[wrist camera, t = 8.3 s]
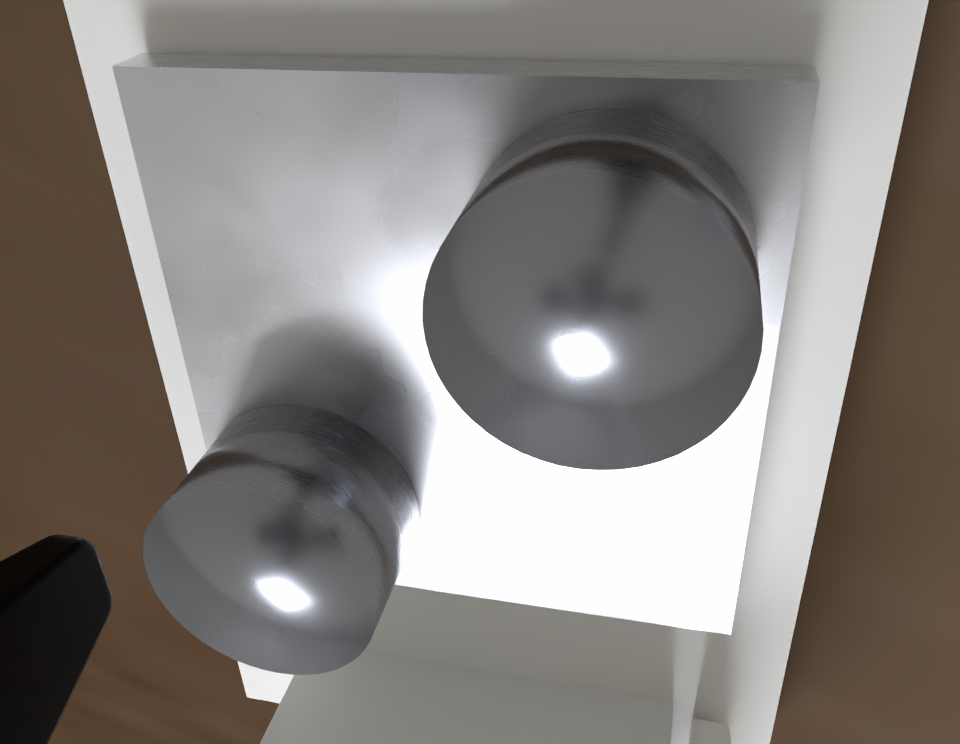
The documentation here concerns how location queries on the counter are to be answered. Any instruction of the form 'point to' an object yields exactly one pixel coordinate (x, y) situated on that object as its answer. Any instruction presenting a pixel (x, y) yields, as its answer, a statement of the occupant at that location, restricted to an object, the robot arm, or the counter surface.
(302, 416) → the spacer on pan
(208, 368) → the pan
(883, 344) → the counter surface
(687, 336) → the steel cup
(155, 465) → the counter surface
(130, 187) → the scale
